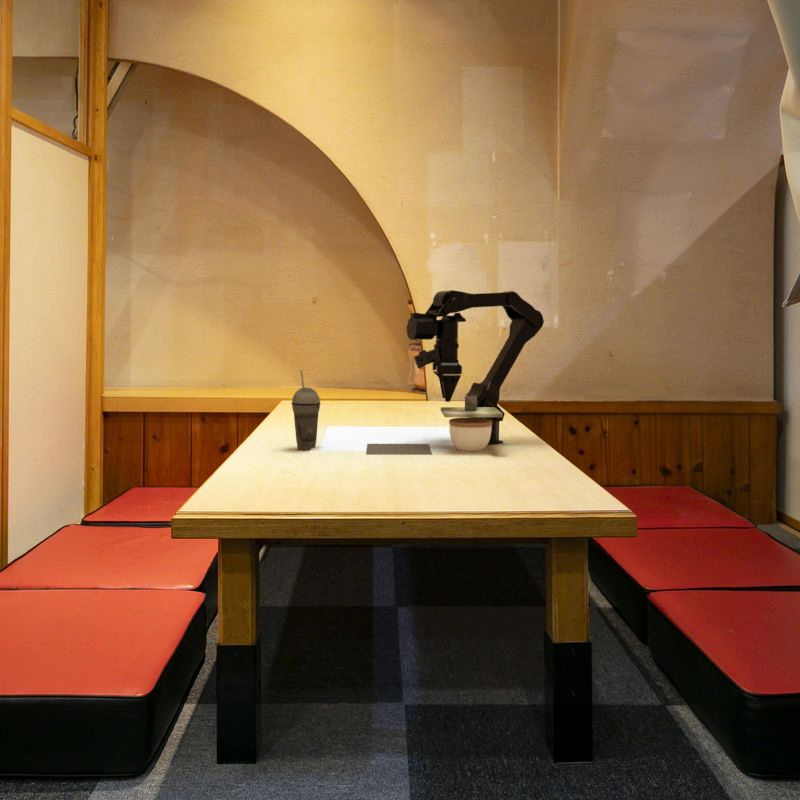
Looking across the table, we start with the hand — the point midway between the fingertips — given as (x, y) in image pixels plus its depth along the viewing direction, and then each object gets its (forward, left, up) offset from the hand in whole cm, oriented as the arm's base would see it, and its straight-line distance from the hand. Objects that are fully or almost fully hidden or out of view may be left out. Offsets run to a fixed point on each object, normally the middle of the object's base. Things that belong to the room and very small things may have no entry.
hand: (446, 399), depth 198 cm
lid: (0, +10, -3) cm, 10 cm away
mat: (+15, -1, -12) cm, 19 cm away
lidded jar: (0, +10, -12) cm, 16 cm away
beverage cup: (+32, -17, -12) cm, 38 cm away
